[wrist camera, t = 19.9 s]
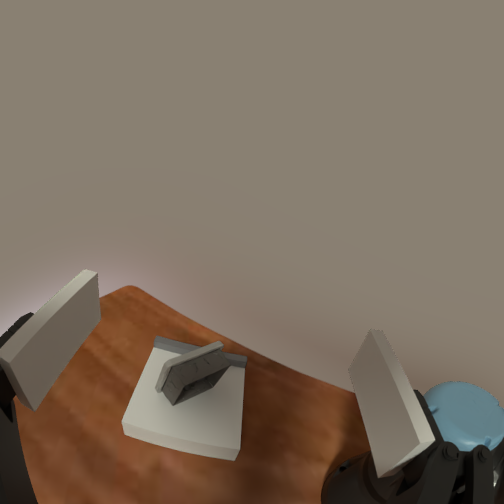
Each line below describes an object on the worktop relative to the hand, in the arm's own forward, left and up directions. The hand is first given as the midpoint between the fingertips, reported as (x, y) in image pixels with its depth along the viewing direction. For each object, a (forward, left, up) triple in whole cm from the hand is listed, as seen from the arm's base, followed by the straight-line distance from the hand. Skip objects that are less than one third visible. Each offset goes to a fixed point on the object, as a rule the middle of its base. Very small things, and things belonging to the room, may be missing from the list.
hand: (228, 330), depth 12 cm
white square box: (+3, -17, -30) cm, 35 cm away
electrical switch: (+3, -17, -27) cm, 32 cm away
